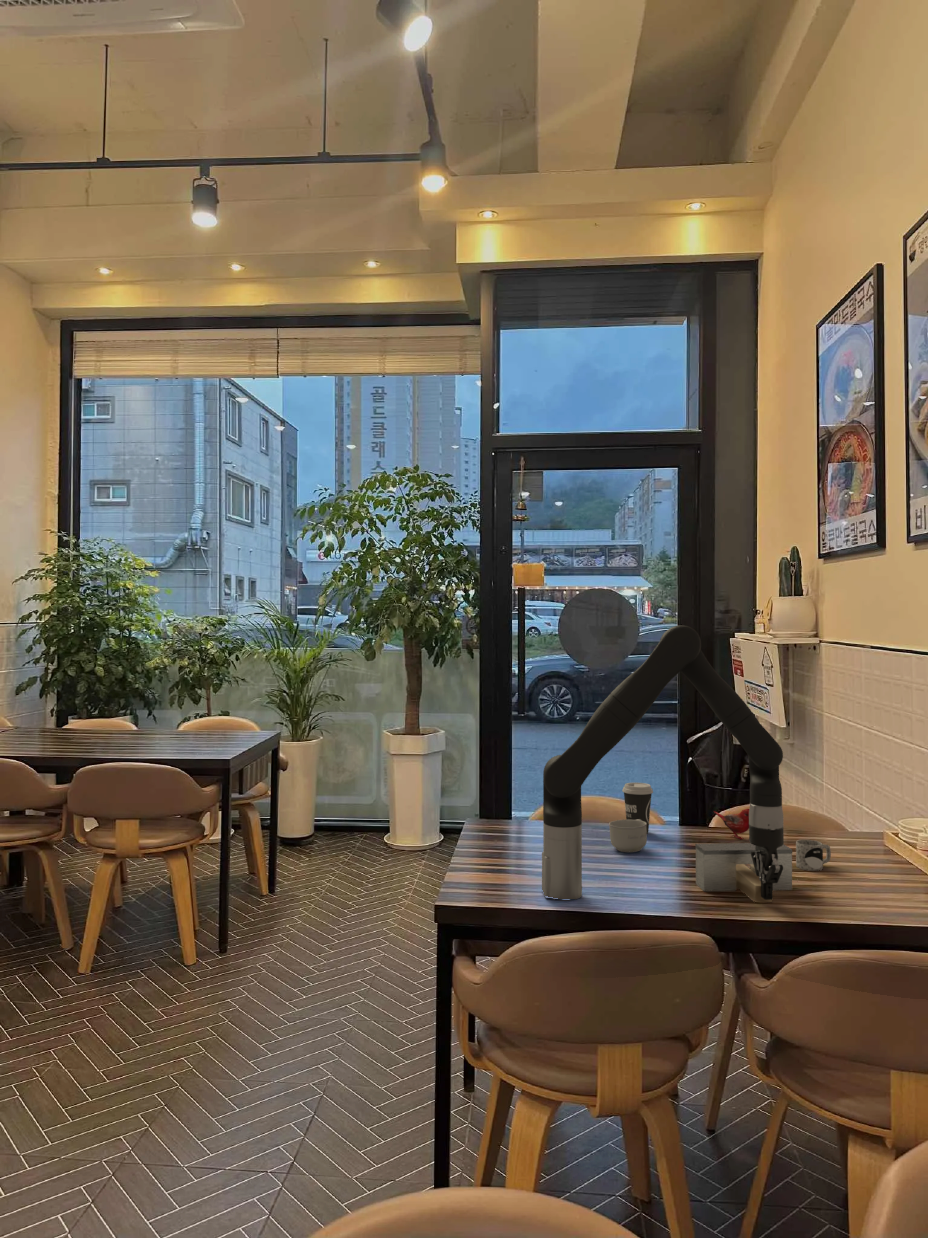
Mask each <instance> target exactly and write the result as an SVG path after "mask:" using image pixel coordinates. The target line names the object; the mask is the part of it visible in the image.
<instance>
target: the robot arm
mask: <svg viewBox="0 0 928 1238" xmlns="http://www.w3.org/2000/svg"><path fill="white" fill-rule="evenodd" d="M701 648H702V641H701V637H700V635H699V633H698V632H697V630H696V629H694V628H692V627H690V626H689V625H684V624H683V625H680V624H679V625H675V626H671V627H670V628H668V629H667V630H665V631H664V632H663V634H662V635H661V637H660V640H659V641H658V644H657V645H656V646H655V647H654V649H653V651H651V653H650V655H649V656H648V657H647V658H646V659H645V661H644V662H643V663H642V664H641V665H640V666H639V667H638V668H637V669H636V670H634V671H633V672H632V673H631V674H630V675H629V676H627V677H626V678H625V679H624V680H623V681H621V683H619V684H618V685H617V686H616V687H615V688H614V689H613V690H612V691H611V692H610V693H609V695H608V696H606V698H605V699H604V701H602V702H601V703H600V705H599V706H598V707H597V708H596V710H595V711H594V713H593V714H592V716H591V717H590V719H589V720H588V722H587V723H586V725H585V727H584V728H583V729H582V732H581V733H580V734H579V736H578V737H577V738H576V740H575V741H574V742H573V743H572V744H571V745H570V746H569V747H568V748H566V750H565V751H564V752H563V753H561V754H558V755H554V756H553V757H551V758H549V760H547V762H546V763H545V766H544V767H543V777H542V779H543V781H542V782H543V783H542V784H543V785H542V787H543V789H542V790H543V792H542V795H543V796H542V797H543V798H542V799H543V801H542V805H543V806H542V809H543V810H542V813H543V815H542V818H543V819H542V820H543V822H542V825H543V829H542V830H543V832H542V833H543V835H542V836H543V837H542V838H543V840H542V841H543V844H542V847H543V851H542V852H541V891H542V890H543V892H544V894H543V896H544V895H545V896H548V897H553V898H558V899H575V900H578V899H580V898H582V895H583V868H582V867H583V864H582V863H583V862H582V861H583V860H582V858H583V847H582V846H583V845H582V843H583V841H582V840H583V839H582V838H583V833H582V832H583V831H582V830H583V829H582V828H583V827H582V826H583V824H582V823H583V819H582V818H583V814H582V813H583V811H582V786H583V784H584V783H585V781H586V780H587V778H588V777H589V775H590V774H591V773H592V772H593V770H594V769H595V768H596V766H597V765H598V764H599V762H600V761H601V760H602V759H603V758H604V757H605V756H606V755H607V754H608V753H609V752H610V751H611V750H613V749H614V748H615V747H616V746H617V745H618V744H619V743H620V742H621V741H622V739H624V737H626V736H627V735H628V734H629V733H630V732H631V730H632V729H633V728H634V727H635V726H636V725H637V724H638V722H639V721H640V720H641V719H642V718H643V717H644V716H645V714H646V713H647V712H648V710H649V709H650V708H651V707H652V706H653V704H654V703H655V701H656V700H657V699H658V697H659V696H660V694H661V693H662V691H663V690H664V689H665V688H666V686H667V685H668V684H669V683H670V682H671V681H672V680H673V679H674V678H675V677H676V676H677V675H678V674H680V673H681V674H682V675H684V677H685V678H686V679H687V680H688V681H689V682H690V683H691V684H692V686H693V687H694V688H695V689H696V690H697V692H698V693H699V694H700V695H701V696H702V698H703V699H704V701H705V702H706V703H707V705H708V706H709V708H710V709H711V710H712V712H713V713H714V714H715V715H716V718H718V720H719V721H720V722H721V723H722V725H724V727H725V729H726V730H727V731H728V732H729V733H730V734H731V735H732V736H733V737H734V738H735V739H736V741H738V743H739V745H740V746H741V747H742V749H743V750H744V752H745V753H746V754H747V757H748V768H749V776H750V777H749V778H750V780H749V782H750V784H749V808H748V809H749V829H748V837H749V838H748V841H749V843H751V844H753V845H755V850H756V851H755V852H751V857H752V860H753V864H754V868H755V872H756V875H757V876H759V880H760V881H761V897H762V898H763V899H765V900H772V901H773V898H774V895H773V894H774V893H773V892H774V890H773V883H778V880H779V878H780V875H781V873H782V871H783V866H782V865H779V864H778V854H777V848H778V847H781V846H782V845H783V844H784V843H785V841H784V839H785V838H784V837H785V836H784V835H785V833H784V832H785V831H784V830H785V829H784V811H783V810H784V809H783V796H782V795H783V788H782V787H783V786H782V784H781V781H780V765H781V764H782V762H783V759H784V752H783V749H782V747H781V746H780V744H779V743H778V742H777V741H776V740H775V738H774V737H773V736H772V735H771V734H770V733H769V731H767V729H766V728H765V727H764V725H762V724H761V723H760V721H759V720H758V718H757V716H756V715H755V713H754V712H753V711H752V710H751V709H750V707H749V706H748V705H747V704H746V702H745V701H744V700H743V699H742V698H741V696H740V695H739V694H738V693H737V692H736V691H735V689H733V688H732V687H731V685H729V684H728V683H727V682H726V680H724V679H723V678H722V676H721V675H720V674H719V673H718V672H717V671H716V670H715V668H713V666H712V665H711V663H710V662H709V661H708V659H707V657H706V656H705V654H704V652H703V651H702V650H701ZM784 845H785V844H784ZM543 892H542V893H543ZM545 896H544V897H545Z"/></svg>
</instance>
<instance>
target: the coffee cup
mask: <svg viewBox="0 0 928 1238" xmlns="http://www.w3.org/2000/svg"><path fill="white" fill-rule="evenodd" d="M621 791H622V792H623V797H624V798H623V799H624V808H625V809H624V810H625V820H628V819H629V820H636V819H640V820H642V821H644V822H646V823H647V825H646V829H647V835H648V834H649V831H650V830H649V829H650V828H649V827H650V818H651V817H650V815H651V804H652V794H653V793H654V790H653V788H652V786H651V784H649V783H645V782H627V783H626V782H625V784H624V786H623V788H622V790H621Z"/></svg>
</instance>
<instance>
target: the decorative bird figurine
mask: <svg viewBox="0 0 928 1238" xmlns="http://www.w3.org/2000/svg"><path fill="white" fill-rule="evenodd" d="M749 809H750V808H745V809H742V810H741V811H740V812H739V813H731V814H727V815H724V814H721V813H719V812H717V811H715V810H713V813H714V814H715V815H716V816H718V817H719V818H720V819H721V820H722V821H723V824H724V825H725V826H726V827H727V828H728V829H729V830H730V831H731V832H732V833H733V835H732V837H734V838H737V839H738V840H745V838H743V837H741V836H739V834H744V833H746V832H747V831H749Z"/></svg>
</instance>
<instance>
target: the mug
mask: <svg viewBox="0 0 928 1238" xmlns="http://www.w3.org/2000/svg"><path fill="white" fill-rule="evenodd" d="M824 850H825V851H826V857H825V858H824ZM831 852H832V850H831V846H830V845H829V844H824V843H822V842H821V841H818V840H815V839H814V840H812V839H798V840H795V867H796V868H797V869H799V870H803V871H807V872H808V871H809V872H820V871H823V870H824V865H825V864H827V863H829V862H830V861H831V855H832V853H831ZM822 869H823V870H822ZM819 870H820V871H819Z"/></svg>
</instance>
